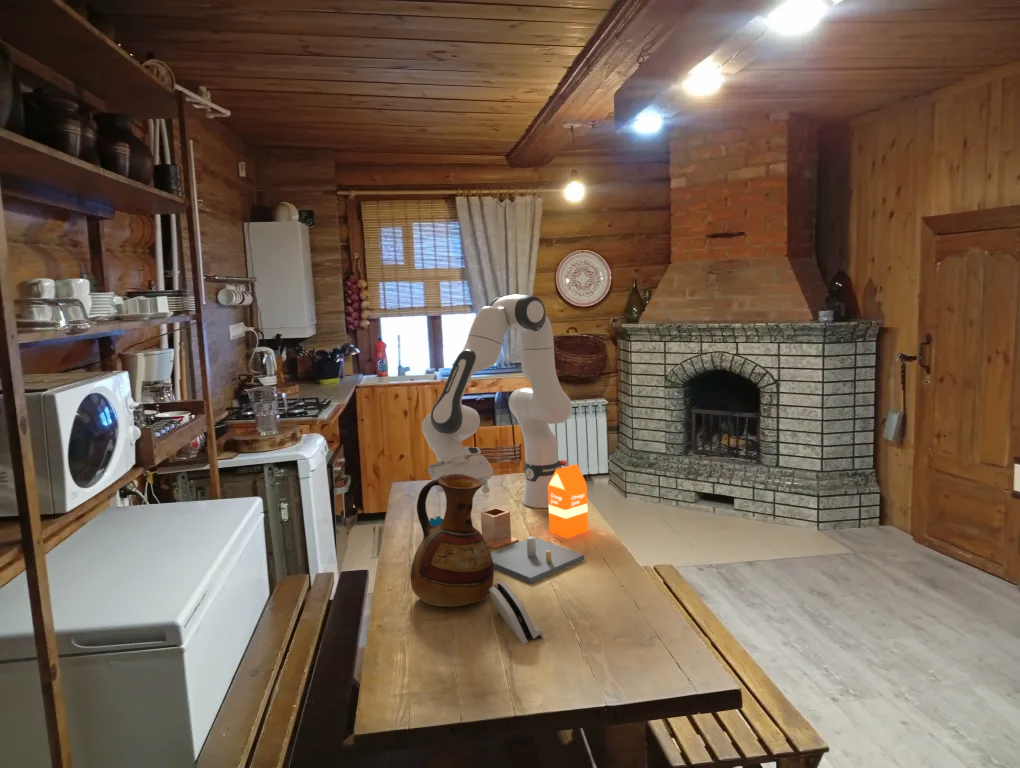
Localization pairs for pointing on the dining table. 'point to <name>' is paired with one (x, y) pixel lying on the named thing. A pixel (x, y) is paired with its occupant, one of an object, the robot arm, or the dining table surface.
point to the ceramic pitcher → (452, 548)
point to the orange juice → (568, 502)
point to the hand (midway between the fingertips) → (475, 496)
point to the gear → (436, 521)
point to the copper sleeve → (497, 528)
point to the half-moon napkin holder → (514, 612)
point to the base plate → (534, 559)
